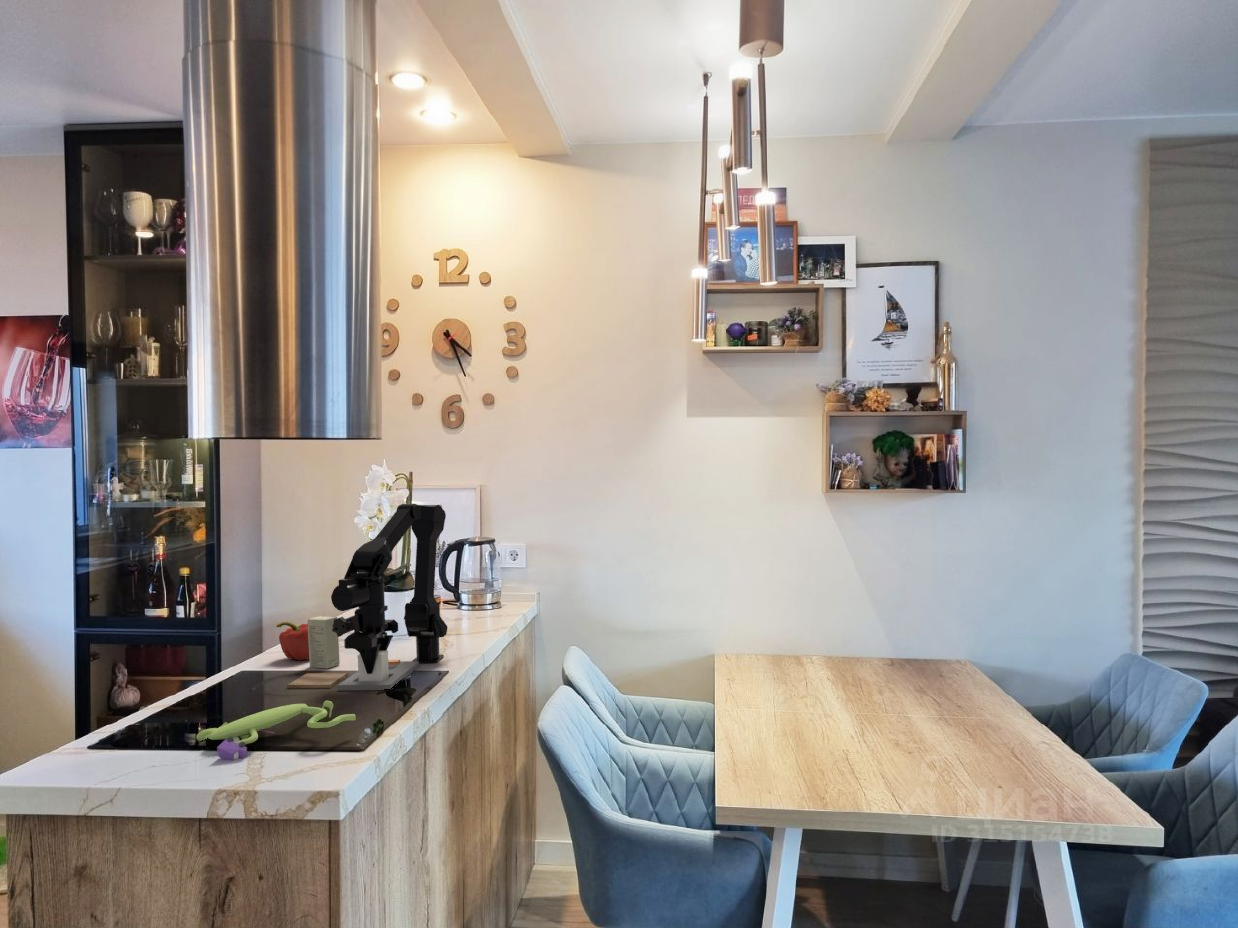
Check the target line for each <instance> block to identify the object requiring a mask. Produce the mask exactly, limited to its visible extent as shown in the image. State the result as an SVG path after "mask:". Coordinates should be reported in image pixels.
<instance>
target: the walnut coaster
mask: <svg viewBox="0 0 1238 928" xmlns="http://www.w3.org/2000/svg"><path fill="white" fill-rule="evenodd" d="M348 675H349V674H348V672H322V673H321V672H319V673H318V672H312V673H311V672H308V673H305V674H303V675H301V676H299V677H298V678H296V679H295V680H293V681H291V682H290V683H288V684H287V685H286V689H331V688H332V687H334V686H337V685H338V684H340V683H341V681H342V682H343V681H344V680H346V679H347V678H348V677H349V676H348Z"/></svg>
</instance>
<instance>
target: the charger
mask: <svg viewBox="0 0 1238 928" xmlns="http://www.w3.org/2000/svg"><path fill="white" fill-rule="evenodd" d="M388 660H389V650H387V651H379V652H378V656H377V659H376V663H375V666H374V669H373V672H372V674H367V672H366V669H365V666H364V663H363V660H362V658H361V655H360V653H359V654H358V655H357V671H358V682H362V681H386V680H387V679H388V678H389V668H388Z"/></svg>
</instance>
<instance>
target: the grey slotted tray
mask: <svg viewBox="0 0 1238 928" xmlns="http://www.w3.org/2000/svg"><path fill="white" fill-rule="evenodd" d="M419 667H420V663H419V661H412V660H410V661H404V660H402V661H401V659H388V668H389V678H388V679H387V680H386V681H362V682H358V670H357V671H356V672H354V673H353V674H351V675H350V676H348V677H346V678H345V679H343V680H342V682H341V681H340V682H339V683H338V684H337V691H385V690H384V689H391V688H392V687H393V686H394V685H395V684H397V683H398V682H399V681H400V680H401V679H403V678H404V679H406V678H407V677H408V676H409V675H411V673H413V672H414V671H416V669H418V668H419ZM404 679H403V680H404ZM398 684H399V683H398ZM398 684H397V685H398ZM392 689H393V688H392ZM392 689H391V690H392Z"/></svg>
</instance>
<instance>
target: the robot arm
mask: <svg viewBox="0 0 1238 928" xmlns="http://www.w3.org/2000/svg"><path fill="white" fill-rule="evenodd" d="M446 515H447V514H446V511H445V510H444V509H443V507H442V505H439V504H418V503H417V504H416V503H401V504H400V505H398V506H397V507H396V511H395V512H394V513H393V515H392V516H391V517H390V519H389V520H388V521H387V523H386V524H385V525H384V526H383V527H382V528H381V530H380V531H379V532H378V534H377V535H376V536H375V537H374V538H373V539H372V540H369V541H367V542H365V543H364V544H362V545H361V546H360V547H359V548H357V549H356V550H355V551H354V553H353V555H352V559H351V561H350V563H349V565H348V568H347V570H346V572H345V574H344V578H343V579H339V580H338V585H337V586H335V588H333V590H332V593H331V596H330V598H331V603H332V606H333V608H335V609H336V610H337V611H340V612H344V611H350V610H352V609H355V610H354V615H352V616H349V617H346V618H344V617H343V616H340V617H337V619H335V620H334V623H333V625H332V626H333V629H332V631H333V632H335V633H337V636H338V638H339V637H343V635H345V634H348V635H347V636H346V637H345V638H344V641H343V643H344V646H343V647H344V649H346V650H347V649H348V650H349V649H352V650H355V651H357V652H358V653H359V654H360V655H361V658H362V660H363V663H364V666H365V669H366V672H367V674H372V672H373V669H374V666H375V663H376V659H377V656H378V652H379V651H388V649H389V646H390V643H391V641H392V640H393V637H394V635H393V634H396V633H397V632H398V631H399V622H398V621H396V620H395V619H386V611H388V610H389V609H388V605H385V582H388V581H390V577H389V576H388V575H387V574H385V572H386V571H387V570H388V567H389V565H390V564H391V562H392V560H393V551H394V549H395V548H396V546H397V544H398V543H399V542H400V541H401V540H402V538H403V537H404V536H405V535H406V533H407V532H408V530H409V529H410V528H411V531H412V532H413V535H414V536H415V538H416V547H415V548H416V550H415V551H416V552H415V569H414V570H415V571H414V584H413V585H414V586H413V587H414V588H413V589H414V590H413V596H412V597H411V600H410V602H406V603H405V605H404V617H403V620H404V625H405V628H406V631H407V633H406V634H407V635H408V637H409V638H411V637H412V638H413V637H414V638H415V641H416V642H415V644H416V648H415V649H416V650H415V651H416V657H415V658H413V660H411V661H419V664H420V663H421V664H422V663H438V662H439V661H441V659H443V658H444V654H440V638H444V637H445V636H446V635H447V633H448V625H447V624H446V622H445V621H444V619H443V618H442V617H441V611H440V607H441V606H440V605H439V603H438V602H437V599H436V598H435V581H436V579H435V578H436V564H437V563H436V561H437V543H438V542H437V541H438V538H439V537H440V535H441V534H442V533H443V531H444V528H445V523H446V522H445V521H446V517H447V516H446ZM352 631H353V632H352ZM350 632H352V633H350ZM388 632H391V633H392V634H388ZM349 633H350V634H349Z"/></svg>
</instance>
